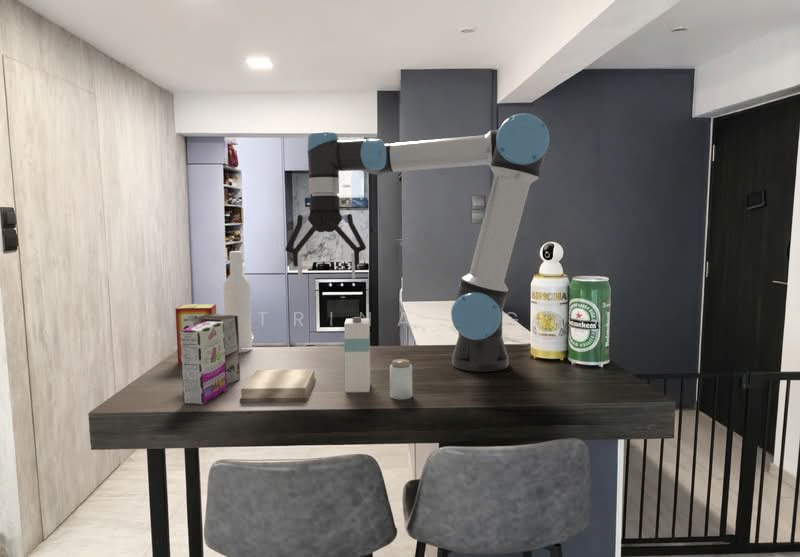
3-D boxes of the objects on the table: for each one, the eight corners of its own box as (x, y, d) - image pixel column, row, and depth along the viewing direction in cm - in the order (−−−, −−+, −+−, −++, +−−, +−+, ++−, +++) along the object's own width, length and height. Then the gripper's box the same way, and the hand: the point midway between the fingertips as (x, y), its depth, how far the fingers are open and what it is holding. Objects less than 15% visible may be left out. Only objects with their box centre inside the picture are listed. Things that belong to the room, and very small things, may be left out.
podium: (315, 381, 149) (315, 369, 149) (306, 401, 133) (306, 388, 132) (256, 381, 149) (255, 369, 149) (239, 402, 132) (239, 389, 132)
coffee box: (241, 379, 151) (239, 315, 150) (223, 385, 146) (221, 319, 144) (213, 375, 155) (210, 313, 154) (194, 381, 149) (192, 317, 148)
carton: (370, 383, 147) (369, 314, 145) (369, 392, 140) (368, 319, 138) (347, 383, 147) (346, 314, 145) (345, 392, 140) (344, 319, 138)
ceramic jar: (411, 392, 139) (411, 358, 138) (412, 399, 134) (412, 363, 133) (389, 393, 139) (389, 358, 138) (390, 399, 134) (389, 364, 133)
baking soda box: (217, 358, 174) (215, 303, 172) (213, 363, 167) (211, 306, 166) (183, 359, 173) (181, 303, 171) (178, 365, 166) (175, 307, 165)
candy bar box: (208, 389, 142) (205, 320, 141) (227, 390, 141) (225, 321, 140) (181, 404, 132) (178, 329, 130) (202, 405, 131) (199, 330, 129)
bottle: (248, 353, 180) (245, 252, 177) (222, 353, 180) (218, 252, 177) (255, 347, 188) (252, 250, 185) (230, 347, 188) (226, 250, 185)
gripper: (373, 194, 158) (375, 276, 160) (276, 196, 157) (280, 278, 159) (373, 193, 150) (375, 279, 153) (272, 195, 149) (275, 281, 151)
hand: (327, 278), depth 156 cm, fingers open, 13 cm apart
